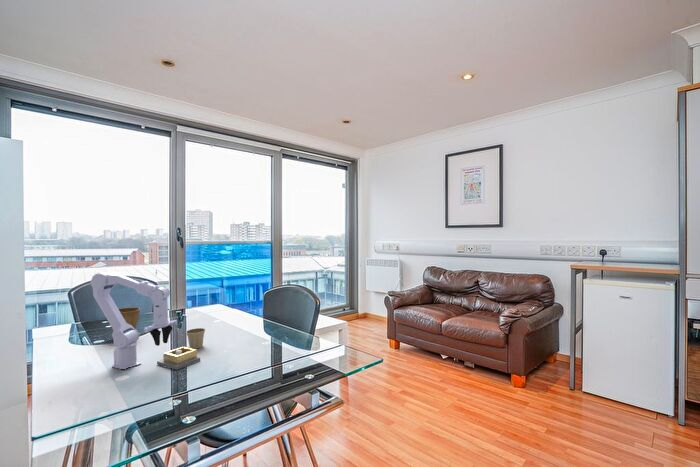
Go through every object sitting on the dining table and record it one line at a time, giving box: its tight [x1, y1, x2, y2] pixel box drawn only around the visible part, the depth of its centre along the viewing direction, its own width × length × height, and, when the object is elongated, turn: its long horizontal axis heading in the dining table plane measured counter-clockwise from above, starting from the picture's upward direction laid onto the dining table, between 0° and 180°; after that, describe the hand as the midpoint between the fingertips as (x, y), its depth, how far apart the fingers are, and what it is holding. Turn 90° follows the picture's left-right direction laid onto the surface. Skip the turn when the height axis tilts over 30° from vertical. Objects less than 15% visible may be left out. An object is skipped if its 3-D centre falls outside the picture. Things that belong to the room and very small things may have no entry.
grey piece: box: [156, 350, 201, 371], centre depth 159 cm, size 14×12×6 cm
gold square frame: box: [162, 346, 198, 364], centre depth 159 cm, size 10×10×4 cm
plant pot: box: [118, 306, 141, 330], centre depth 200 cm, size 15×15×16 cm
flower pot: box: [185, 327, 206, 350], centre depth 180 cm, size 9×9×9 cm
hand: (161, 344), depth 157 cm, fingers open, 3 cm apart
